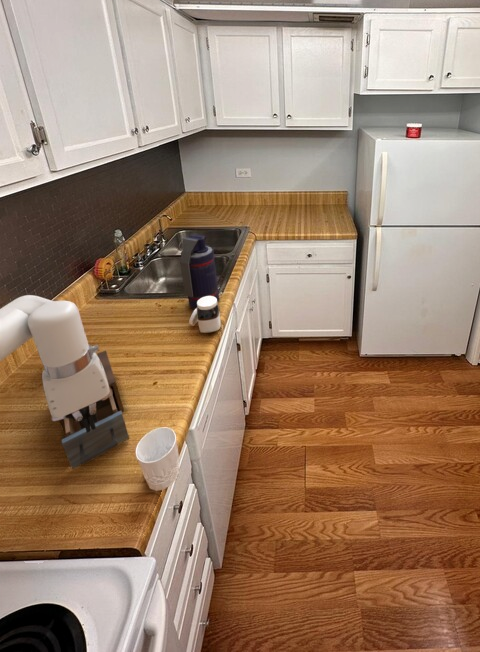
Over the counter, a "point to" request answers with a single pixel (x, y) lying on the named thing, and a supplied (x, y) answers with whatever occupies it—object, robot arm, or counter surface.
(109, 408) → the drawer
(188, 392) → the counter surface
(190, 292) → the navy water bottle
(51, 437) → the counter surface
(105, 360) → the cabinet
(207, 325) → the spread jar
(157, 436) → the white cup
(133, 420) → the counter surface
